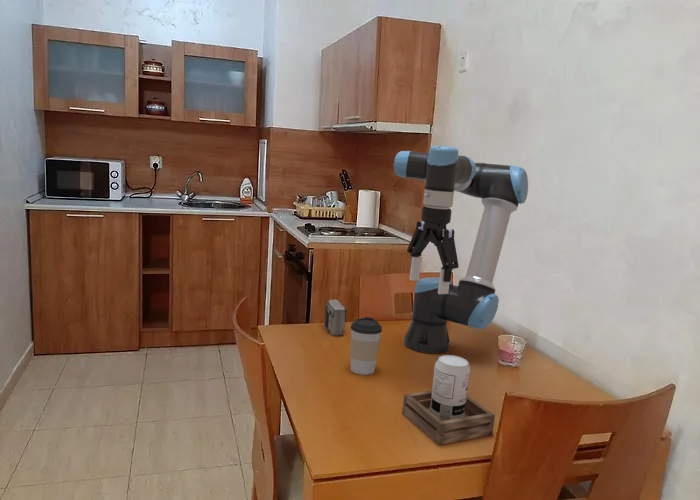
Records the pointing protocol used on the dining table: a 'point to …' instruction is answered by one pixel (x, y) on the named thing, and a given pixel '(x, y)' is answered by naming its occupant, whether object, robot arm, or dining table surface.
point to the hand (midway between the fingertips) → (428, 286)
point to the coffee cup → (364, 345)
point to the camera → (335, 317)
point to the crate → (448, 431)
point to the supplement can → (450, 387)
